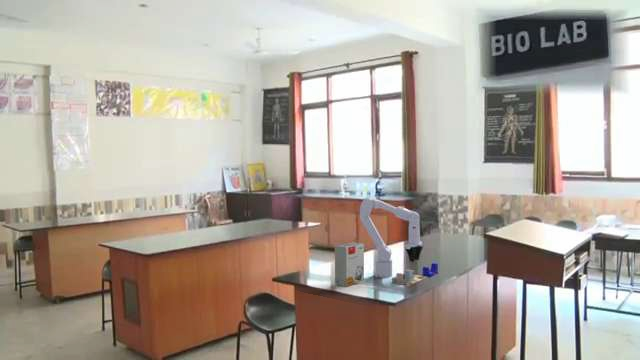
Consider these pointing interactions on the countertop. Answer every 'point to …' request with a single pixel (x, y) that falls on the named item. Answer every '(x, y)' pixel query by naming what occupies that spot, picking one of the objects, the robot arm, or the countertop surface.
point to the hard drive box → (349, 264)
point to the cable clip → (430, 272)
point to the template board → (401, 278)
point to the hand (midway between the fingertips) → (414, 260)
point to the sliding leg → (409, 275)
